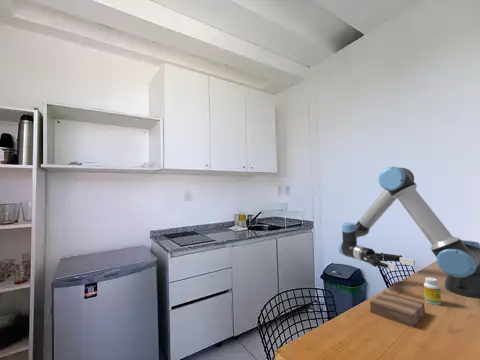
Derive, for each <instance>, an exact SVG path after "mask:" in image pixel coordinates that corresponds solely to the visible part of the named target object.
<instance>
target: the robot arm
mask: <svg viewBox="0 0 480 360" xmlns="http://www.w3.org/2000/svg"><path fill="white" fill-rule="evenodd" d="M378 184H379V186H380V187H381V188H382V189H384V190H383V191H382V192H381V193H380V194H379V196H377V198H376V199H375V201H374V202H372V204H371V205H370V207H369V208H368V209H367V210H366V211H365V212H364V213H363V214H362V216H361V217H360V219H358V220H357V222H356V223H355V222H343V223H342V225H341V232H342V242H340V243H339V244H338V252H339V253H340V255H342V256H345V257H347V258H352V259H355V260H359V262H361V261H362V262H365V263H367V264H370V265H371V266H373V267H375V268H376V267H377V268H378V269H381V268H383V269H387V270H389V271H390V270H391V271H395V272H396V271H397V266H396V265H397V264H394V263H391V262H396V263H397V262H398V263H400V264H403V265H407V266H411V267H415V266H416V265H415V264H416V263H415V262H416V261H415V259H410V258H407V257H403V255H401V254H399V255H398V254H390V253H384V252H380V253H379V252H375V250H374V249H373V248H370V247H366V246H362V245H358V239H357V238H361V237H365V236H367V235H368V234H369V233H370V229H371V228H372V227H373V226H374V225H375V224H376V223H377V221H378V220H379V219H380V218H381V217H382V216H383V215H384V214H385V212H386V211H387V210H388V209H390V207H391V206H392V204H393V203H394V202H395V201H396V200H398V201H399V202H400V204H401V205H402V207H403V208H404V209H405V210H406V212H407V213H408V215H409V216H410V217H411V219H412V220H413V221H414V222H415V224H416V226H417V227H418V228H419V229H420V231H421V232H422V234H423V235H424V236H425V237H426V240H428V242H429V243H430V244H431V246H430V250H431V252H432V253H433V255H434V256H435V257H436V263H437V265H438V267H439V269H440V270H442V272H444V273H445V274H446V278H445V281H444V288H445V290H447V291H449V292H451V293H454V294H457V295H460V296H465V297H469V298H470V297H471V298H477V299H479V298H480V243H479V242H478V241H472V240H463V239H461V238H460V237H456V236H453V235H452V234H451V232H450V231H449V230H448V228H447V227H446V226H445V224H443V222H442V221H441V220H440V218H439V217H438V216H437V215H436V213H435V211H433V210H432V208H431V207H430V205H429V204H428V203H427V202H426V201H425V200H424V198H423V197H422V196H421V194H420V193H419V191H417V186H418V185H417V184H416V182H415V176H414V173H413V172H412V171H411V169H409V168H405V167H398V166H389V167H386V168H384V169H382V171H380V173H379V175H378Z"/></svg>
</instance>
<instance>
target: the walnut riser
mask: <svg viewBox="0 0 480 360" xmlns="http://www.w3.org/2000/svg"><path fill="white" fill-rule="evenodd" d="M425 308H426V307H425V302H422V301H419V300H415V299H411V298H409V297H405V296H401V295H397V294H393V293H390V292H388V291H387V292H386V291H384V292H382V293H380V294H379V295H377V297H375V298H374V299H372V300H371V301H370V302H369V310H370V313H371V314H373V315H377V316H379V317H383V318H385V319H388V320H390V321H393V322H396V323H399V324H402V325H405V326H408V327H411V328H414V327H415V326H416V324H418V322H420V320H421V319H423V317H424V316H425V314H426V309H425Z"/></svg>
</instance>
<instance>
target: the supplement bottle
mask: <svg viewBox="0 0 480 360" xmlns="http://www.w3.org/2000/svg"><path fill="white" fill-rule="evenodd" d="M424 280H425V282H424V283H423V294H424V301H425V302H426V303H428V304H430V305H434V306H435V305H437V306H438V305H441V303H442V299H441V286H440V284H438V279H437V278H434V277H425V278H424Z"/></svg>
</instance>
